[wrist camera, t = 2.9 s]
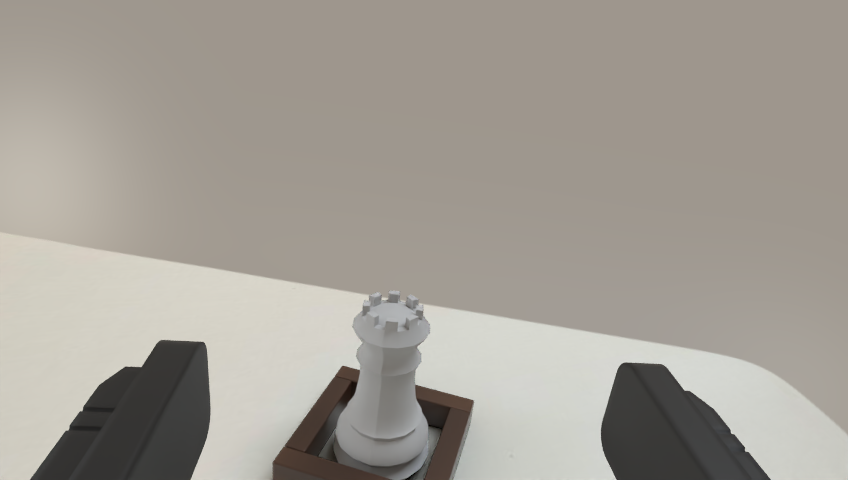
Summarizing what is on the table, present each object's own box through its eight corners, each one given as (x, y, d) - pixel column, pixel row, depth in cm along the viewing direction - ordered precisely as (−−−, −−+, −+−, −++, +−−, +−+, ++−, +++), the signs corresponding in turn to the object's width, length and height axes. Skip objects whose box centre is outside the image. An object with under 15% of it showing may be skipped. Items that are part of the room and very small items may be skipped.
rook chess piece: (417, 501, 24) (437, 345, 21) (318, 478, 24) (322, 323, 21) (435, 429, 28) (454, 290, 25) (349, 411, 28) (357, 272, 25)
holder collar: (470, 422, 29) (474, 399, 28) (434, 541, 22) (438, 514, 22) (341, 387, 30) (342, 364, 29) (272, 488, 24) (271, 461, 23)
